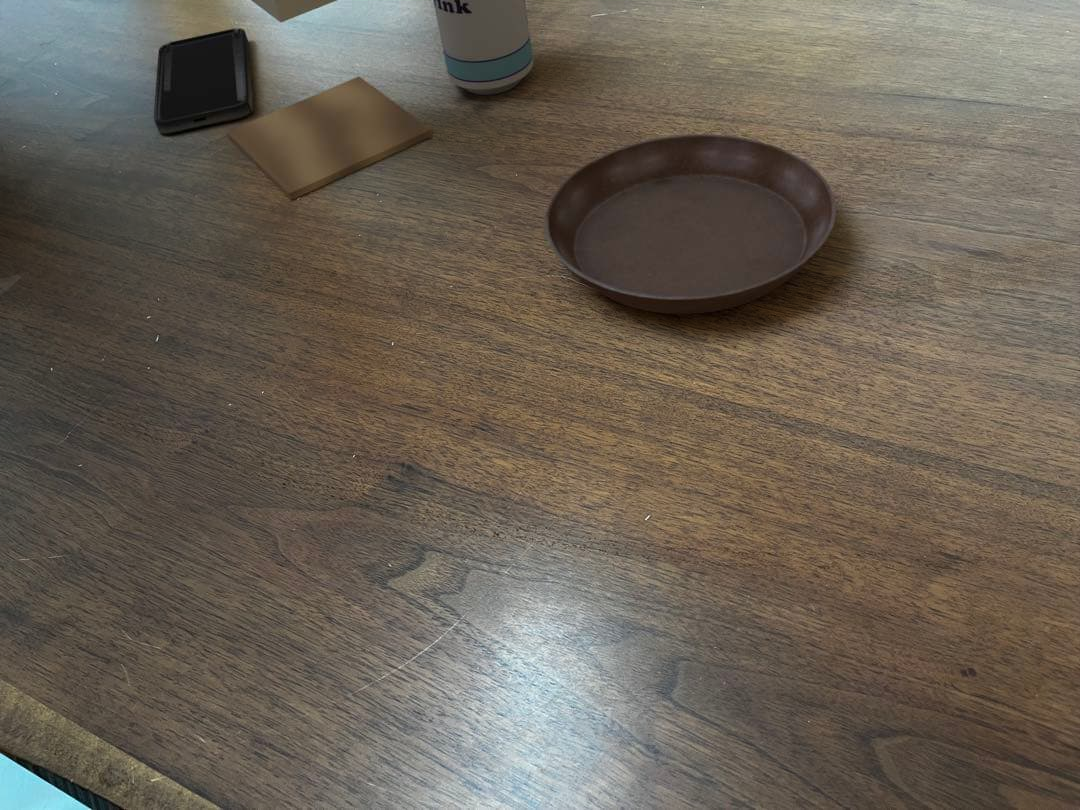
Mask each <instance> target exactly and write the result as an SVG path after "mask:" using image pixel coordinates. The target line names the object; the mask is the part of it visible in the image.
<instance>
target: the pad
mask: <svg viewBox="0 0 1080 810" xmlns="http://www.w3.org/2000/svg"><path fill="white" fill-rule="evenodd" d="M226 135H227V138H228V139H229V141H231V142H232V143H233V144H234V145H235V146H236V147H237V149H239V150H240V151H241V152H242V153H243V154H244V155H245V156H246V157H247V158H248V159H249V160H250V161H251V162H252V163H253V164H254V165H255V166H256V167H257V168H258V169H259V170H260V171H261V172H262V173H263V174H264V175H265V176H266V177H267V178H268V179H269V180H270V181H271V182H272V183H273V184H274V185H275V186H277V188H278V189H279V190H280V191H281V192H283V194H284V195H286V197H287V198H288V199H290V201H293V200H295V199H297V198H300V197H301V196H304V195H306V194H308V193H311V192H313V191H315V190H317V189H320V188H322V187H324V186H326V185H328V184H331V183H333V182H335V181H338V180H339V179H341V178H344V177H345V176H349V175H350V174H353V173H354V172H357V171H360V170H362V169H364V168H366V167H368V166H370V165H373V164H374V163H377V162H379V161H381V160H383V159H386V158H388V157H390V156H392V155H395V154H396V153H399V152H402V151H403V150H405V149H408V148H410V147H412V146H415V145H416V144H419V143H421V142H423V141H426V140H427V139H429V138H431V137H433V132H432V129H431V128H430V127H429V126H427V125H425V123H423V122H421V121H420V120H419V119H417V117H415V116H414V115H412V114H410V113H409V112H408V111H407V110H406V109H404V108H402V106H400V105H398V103H396V102H395V101H394V100H392V99H391V98H389V97H388V96H387V95H386V94H384V93H382V92H381V91H380V90H379V89H377V88H376V87H374V85H372V84H370V83H369V82H368V81H366V80H365V79H364V78H362V77H361V76H357V77H353V78H352V79H349V80H347V81H344V82H342V83H340V84H337V85H335V86H332V87H330V88H328V89H326V90H323V91H321V92H318V93H316V94H313V95H312V96H309V97H307V98H304V99H302V100H299V101H297V102H295V103H292V104H289V105H287V106H284V107H283V108H280V109H278V110H276V111H273V112H272V113H268V114H266V115H263V116H261V117H259V118H257V119H254V120H252V121H249V122H247V123H245V124H242V125H240V126H237V127H236V128H233V129H231V130H228V131H226Z"/></svg>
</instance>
